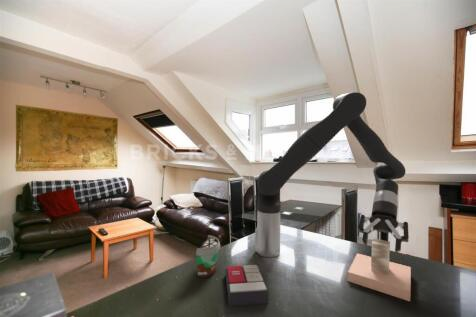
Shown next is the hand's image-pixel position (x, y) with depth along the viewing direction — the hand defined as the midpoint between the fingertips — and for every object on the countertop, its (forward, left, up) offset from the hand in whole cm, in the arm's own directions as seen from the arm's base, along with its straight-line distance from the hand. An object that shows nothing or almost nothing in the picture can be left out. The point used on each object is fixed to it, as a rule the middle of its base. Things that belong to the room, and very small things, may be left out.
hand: (380, 247), depth 74 cm
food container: (-47, -30, -10) cm, 57 cm away
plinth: (0, 0, -10) cm, 10 cm away
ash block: (0, 0, -7) cm, 7 cm away
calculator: (-32, -30, -11) cm, 46 cm away
